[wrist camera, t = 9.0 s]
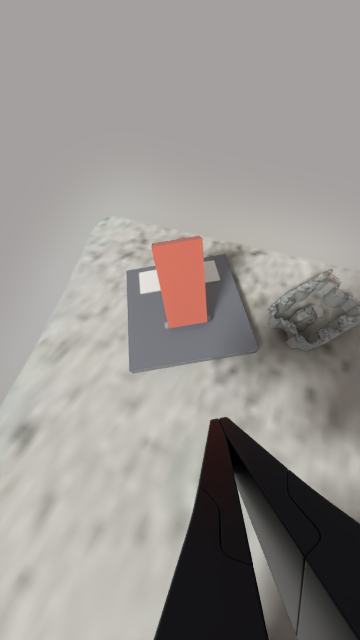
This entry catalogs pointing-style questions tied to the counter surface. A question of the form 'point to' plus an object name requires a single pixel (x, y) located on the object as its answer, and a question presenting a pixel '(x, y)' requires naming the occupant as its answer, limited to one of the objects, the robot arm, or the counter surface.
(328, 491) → the counter surface
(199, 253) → the lever
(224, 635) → the robot arm
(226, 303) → the base
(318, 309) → the grey lumpy stone piece
